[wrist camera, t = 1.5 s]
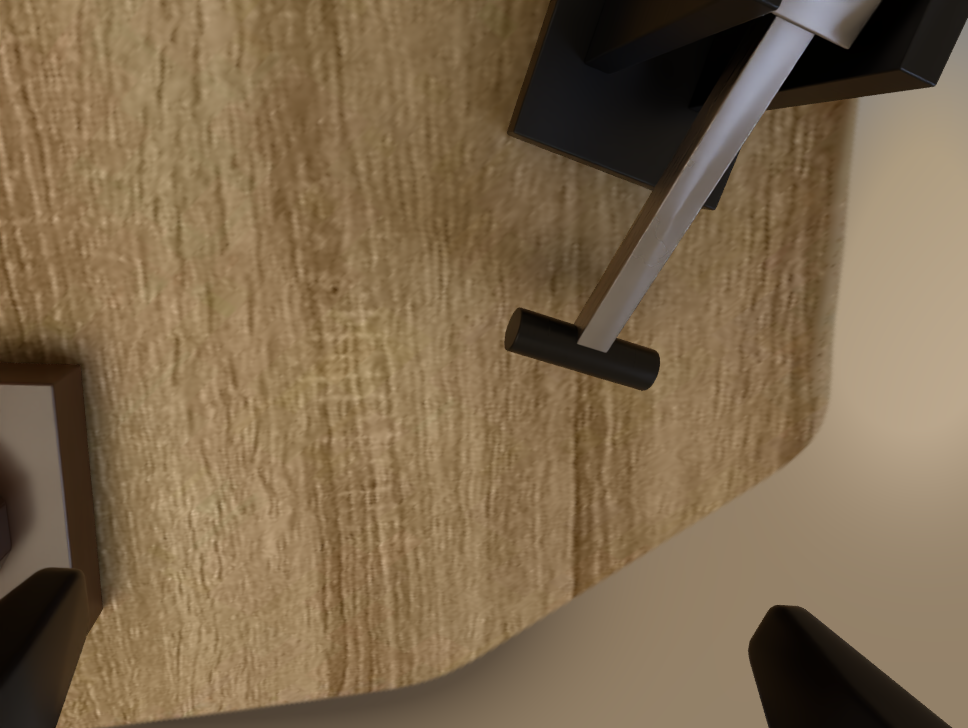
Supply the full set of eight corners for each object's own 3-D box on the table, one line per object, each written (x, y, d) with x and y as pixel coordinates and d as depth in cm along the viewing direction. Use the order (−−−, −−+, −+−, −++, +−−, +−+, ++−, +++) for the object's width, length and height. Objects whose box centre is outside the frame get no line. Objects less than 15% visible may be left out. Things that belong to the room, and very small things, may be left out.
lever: (631, 362, 24) (644, 409, 22) (502, 323, 22) (505, 369, 20) (937, -77, 15) (1001, -61, 13) (756, -180, 14) (799, -177, 12)
